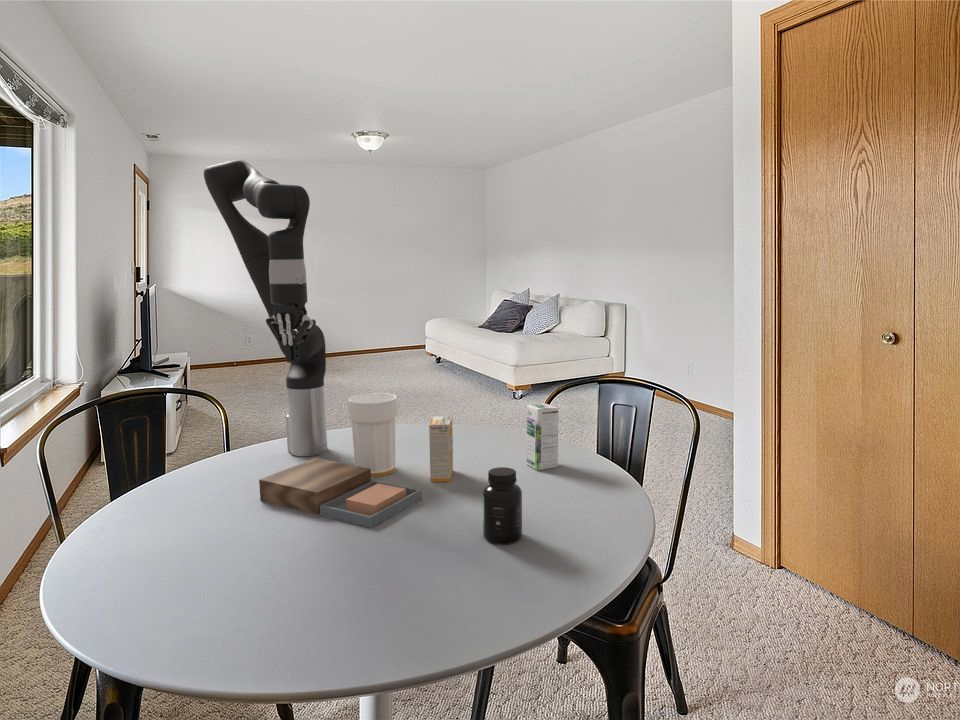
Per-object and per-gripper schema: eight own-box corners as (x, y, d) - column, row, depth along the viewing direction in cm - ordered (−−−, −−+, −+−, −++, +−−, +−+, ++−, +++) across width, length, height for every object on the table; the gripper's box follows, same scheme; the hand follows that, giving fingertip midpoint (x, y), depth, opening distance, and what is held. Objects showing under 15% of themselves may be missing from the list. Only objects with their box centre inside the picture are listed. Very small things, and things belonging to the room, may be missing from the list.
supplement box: (451, 482, 140) (450, 424, 138) (429, 482, 140) (428, 424, 138) (454, 470, 148) (452, 415, 146) (433, 470, 149) (432, 415, 147)
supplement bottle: (476, 540, 111) (475, 474, 109) (494, 526, 117) (493, 463, 115) (512, 548, 108) (511, 480, 106) (528, 533, 114) (528, 468, 112)
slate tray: (320, 515, 123) (319, 505, 123) (373, 489, 137) (372, 480, 136) (371, 527, 117) (370, 517, 116) (421, 499, 130) (421, 489, 130)
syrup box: (525, 464, 152) (525, 404, 150) (546, 460, 154) (546, 402, 152) (537, 471, 147) (537, 409, 145) (559, 467, 149) (559, 407, 147)
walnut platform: (260, 500, 131) (259, 479, 130) (316, 477, 145) (315, 458, 144) (318, 514, 123) (317, 492, 122) (371, 488, 137) (370, 468, 136)
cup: (390, 480, 142) (387, 403, 140) (343, 477, 145) (339, 402, 142) (406, 464, 153) (403, 393, 151) (361, 461, 155) (358, 392, 153)
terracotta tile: (374, 505, 120) (375, 518, 120) (406, 488, 128) (406, 500, 129) (345, 499, 123) (346, 511, 123) (378, 483, 132) (378, 494, 132)
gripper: (252, 281, 135) (257, 362, 138) (297, 282, 129) (302, 367, 131) (279, 280, 141) (284, 357, 144) (323, 281, 135) (328, 361, 138)
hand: (292, 362), depth 138 cm, fingers closed
